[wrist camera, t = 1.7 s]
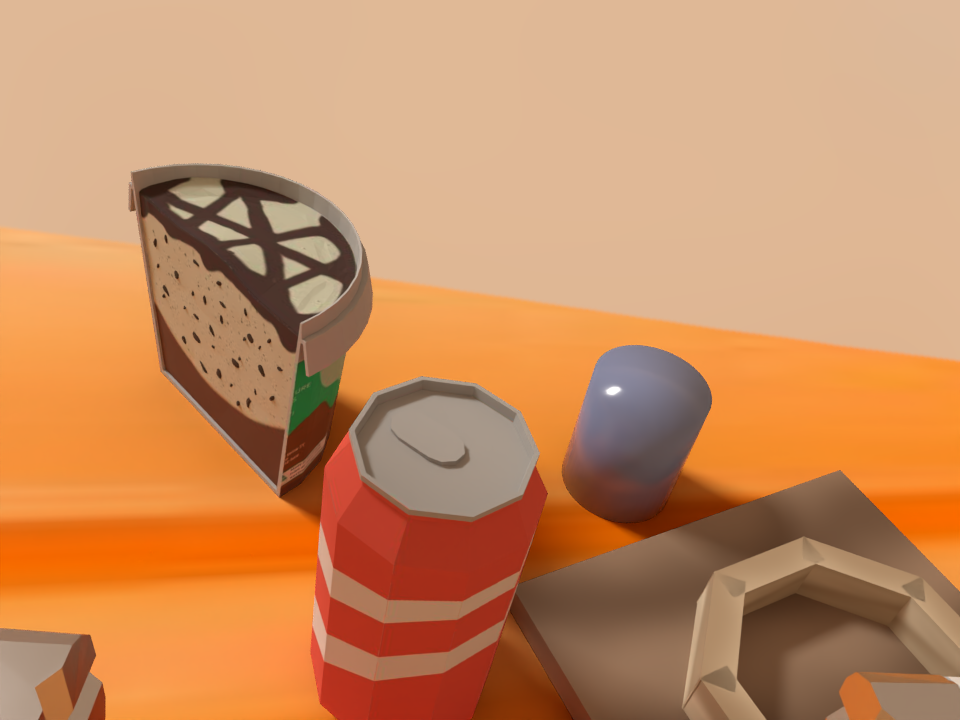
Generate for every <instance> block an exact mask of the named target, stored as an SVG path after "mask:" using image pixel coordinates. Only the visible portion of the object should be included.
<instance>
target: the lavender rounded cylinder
mask: <svg viewBox="0 0 960 720" xmlns="http://www.w3.org/2000/svg"><path fill="white" fill-rule="evenodd" d="M711 404H712V396H711V391H710V388H709V386H708V384H707V382H706V381H705V379H704V378H703V377H702V375H701V374H700V373H699V372H698V371H697V370H696V369H695V368H694V367H692V366H691V365H690V364H689V363H687V362H686V361H684V360H683V359H681V358H679V357H677V356H676V355H673V354H671V353H669V352H666V351H664V350H661V349H657V348H653V347H648V346H641V345H628V346H621V347H617V348H614V349H612V350H609V351H608V352H606V353H605V354H603V355H602V356H601V357H600V358H599V360H598V361H597V363H596V366H595V368H594V371H593V374H592V377H591V380H590V383H589V386H588V389H587V392H586V395H585V398H584V401H583V404H582V407H581V410H580V413H579V416H578V419H577V422H576V425H575V428H574V431H573V434H572V437H571V440H570V443H569V446H568V449H567V452H566V455H565V458H564V461H563V465H562V477H563V480H564V483H565V486H566V488H567V490H568V491H569V493H570V494H571V496H572V497H573V498H574V499H575V500H576V501H577V502H578V503H579V504H580V505H581V506H582V507H584V508H585V509H586V510H588V511H590V512H591V513H593V514H595V515H597V516H599V517H601V518H604V519H607V520H610V521H614V522H620V523H637V522H642V521H646V520H648V519H651V518H653V517H654V516H656V515H657V514H658V513H660V512H661V510H662V509H663V508H664V506H665V504H666V502H667V500H668V498H669V496H670V494H671V492H672V490H673V488H674V485H675V483H676V481H677V479H678V477H679V475H680V473H681V470H682V468H683V466H684V464H685V462H686V460H687V458H688V455H689V453H690V451H691V449H692V447H693V445H694V443H695V440H696V438H697V436H698V434H699V432H700V430H701V428H702V426H703V423H704V421H705V419H706V417H707V415H708V413H709V411H710V408H711Z"/></svg>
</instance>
